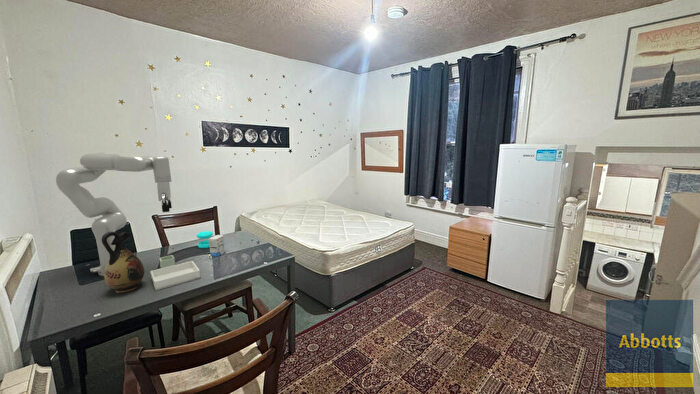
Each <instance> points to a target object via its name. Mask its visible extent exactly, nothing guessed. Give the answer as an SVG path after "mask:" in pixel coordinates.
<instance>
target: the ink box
mask: <svg viewBox="0 0 700 394" xmlns="http://www.w3.org/2000/svg"><path fill="white" fill-rule="evenodd" d="M208 240H209V253H210V254H209V255H210V257H216V258H217V257H219V256H220V255H222V254H224V253H225V252H226V251H225V250H226V249H225V240H224V235H223V234H217V235H214V236H213V235H212V237H210V238H208Z"/></svg>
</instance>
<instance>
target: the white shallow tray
mask: <svg viewBox="0 0 700 394" xmlns="http://www.w3.org/2000/svg"><path fill="white" fill-rule="evenodd" d="M149 273H150V279H151V281H152V282H151V283H152V285H153V287H154V291H159V290H163V289H166V288H169V287H173V286H177V285H182V284H185V283H188V282H192V281H195V280H199V279H201V270H200V269H199V267H198V266H197V265H196V263H195V262H194V261H193V260H190V261H185V262H182V263H178V264H175V265H173V266H169V267H165V268H161V267H160V268H158V269H154V270H153V269H152V270H150V272H149Z"/></svg>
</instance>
